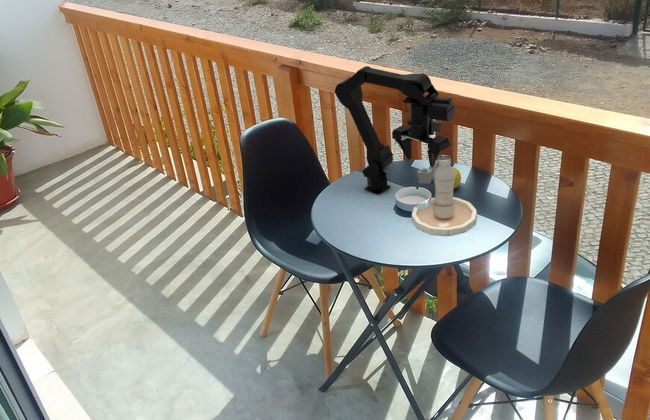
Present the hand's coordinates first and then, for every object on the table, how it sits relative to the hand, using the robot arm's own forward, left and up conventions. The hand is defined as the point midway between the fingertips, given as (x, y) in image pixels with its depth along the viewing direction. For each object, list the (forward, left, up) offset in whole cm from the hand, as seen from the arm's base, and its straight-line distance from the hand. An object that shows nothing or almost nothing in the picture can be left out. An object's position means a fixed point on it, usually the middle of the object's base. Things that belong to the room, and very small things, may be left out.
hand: (420, 162), depth 188 cm
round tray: (+13, -5, -13) cm, 19 cm away
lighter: (-5, +10, -13) cm, 17 cm away
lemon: (+4, +11, -13) cm, 18 cm away
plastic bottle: (+13, -5, -13) cm, 19 cm away
